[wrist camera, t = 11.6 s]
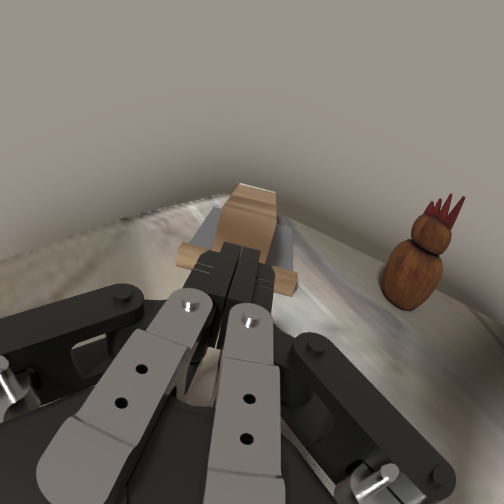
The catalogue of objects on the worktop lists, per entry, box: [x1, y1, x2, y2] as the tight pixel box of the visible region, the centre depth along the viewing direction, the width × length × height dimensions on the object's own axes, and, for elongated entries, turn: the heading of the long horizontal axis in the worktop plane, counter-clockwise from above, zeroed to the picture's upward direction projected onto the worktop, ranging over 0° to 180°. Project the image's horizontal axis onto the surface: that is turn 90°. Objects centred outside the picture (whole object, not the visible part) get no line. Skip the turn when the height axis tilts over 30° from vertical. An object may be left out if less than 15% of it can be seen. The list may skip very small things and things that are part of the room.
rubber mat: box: [189, 207, 293, 271], centre depth 40 cm, size 15×12×1 cm
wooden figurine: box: [383, 194, 465, 310], centre depth 32 cm, size 7×6×15 cm
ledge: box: [176, 242, 298, 297], centre depth 31 cm, size 2×12×2 cm, turn 83°
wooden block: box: [212, 183, 277, 264], centre depth 36 cm, size 5×5×16 cm
